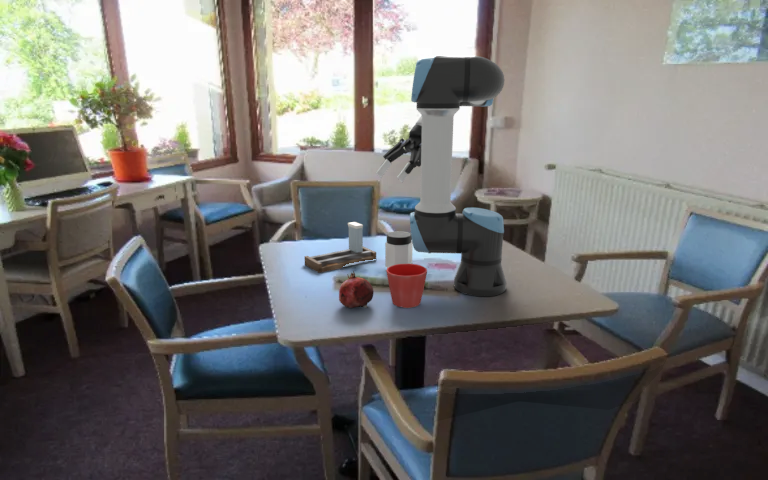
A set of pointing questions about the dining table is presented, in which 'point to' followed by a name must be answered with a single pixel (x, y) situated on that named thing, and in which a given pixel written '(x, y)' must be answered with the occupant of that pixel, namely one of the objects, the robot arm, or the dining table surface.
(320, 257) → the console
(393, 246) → the jar
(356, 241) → the slider tab
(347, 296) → the fruit
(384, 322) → the dining table surface
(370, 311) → the dining table surface
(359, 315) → the dining table surface
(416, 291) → the flower pot
